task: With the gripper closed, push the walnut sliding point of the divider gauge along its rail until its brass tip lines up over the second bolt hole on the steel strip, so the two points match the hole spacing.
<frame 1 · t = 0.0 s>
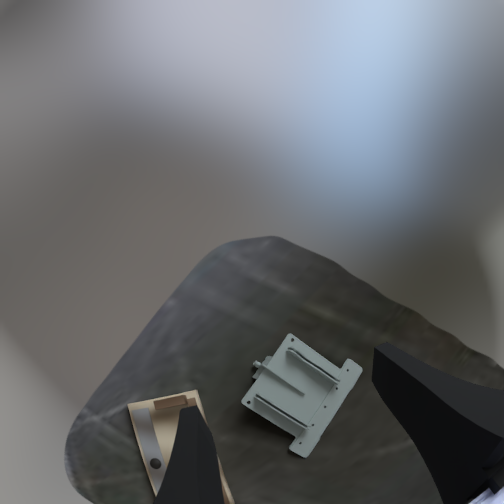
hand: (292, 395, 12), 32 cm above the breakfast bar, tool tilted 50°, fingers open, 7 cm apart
metal bracket: (297, 391, 42), on the breakfast bar
gauge board: (185, 470, 36), on the breakfast bar
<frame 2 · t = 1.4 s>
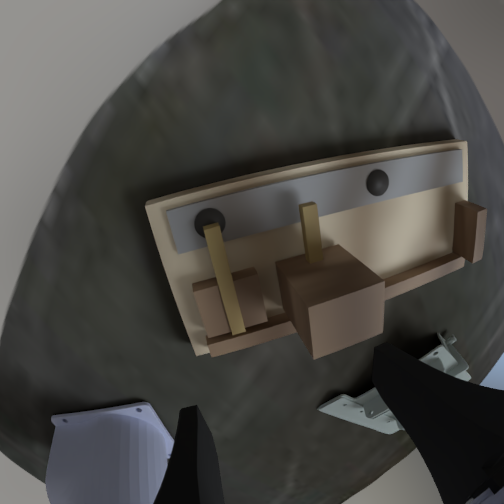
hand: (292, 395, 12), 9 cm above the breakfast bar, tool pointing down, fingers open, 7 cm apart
sliding point: (325, 270, 16), point 4 cm above the breakfast bar, slide at 0.0 cm
metal bracket: (398, 380, 30), on the breakfast bar
gauge board: (342, 233, 20), on the breakfast bar
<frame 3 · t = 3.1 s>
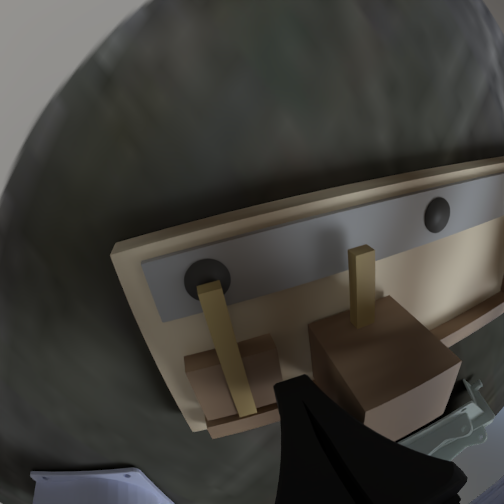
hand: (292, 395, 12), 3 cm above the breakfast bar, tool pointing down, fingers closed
sliding point: (381, 343, 11), point 4 cm above the breakfast bar, slide at 0.4 cm, touching gripper
metal bracket: (415, 428, 24), on the breakfast bar
gauge board: (384, 279, 15), on the breakfast bar
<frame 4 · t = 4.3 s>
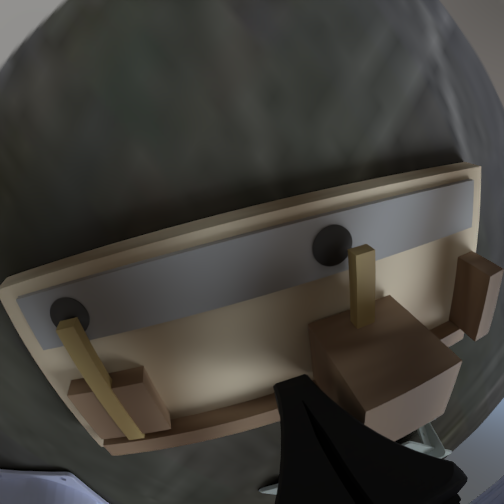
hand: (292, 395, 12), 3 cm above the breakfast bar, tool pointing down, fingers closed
sliding point: (381, 342, 11), point 4 cm above the breakfast bar, slide at 5.7 cm, touching gripper
metal bracket: (362, 455, 23), on the breakfast bar
gauge board: (281, 313, 14), on the breakfast bar
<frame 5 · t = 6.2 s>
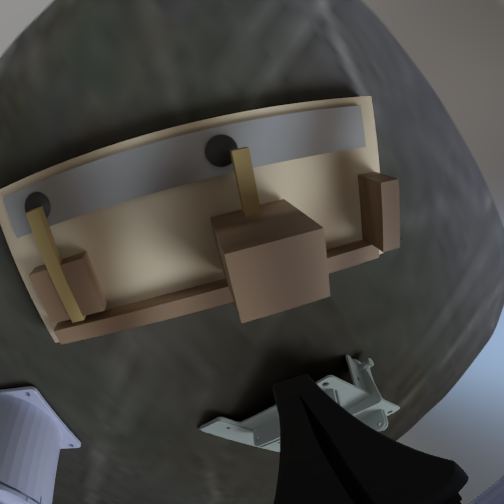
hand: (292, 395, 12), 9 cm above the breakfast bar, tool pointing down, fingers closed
sliding point: (259, 221, 15), point 4 cm above the breakfast bar, slide at 5.7 cm
metal bracket: (305, 405, 27), on the breakfast bar
gauge board: (195, 215, 18), on the breakfast bar
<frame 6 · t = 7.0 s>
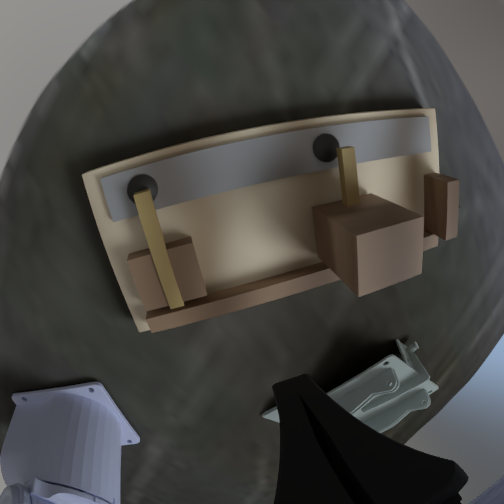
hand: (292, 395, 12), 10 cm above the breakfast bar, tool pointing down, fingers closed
sliding point: (365, 210, 16), point 4 cm above the breakfast bar, slide at 5.7 cm
metal bracket: (355, 388, 29), on the breakfast bar
gauge board: (292, 205, 19), on the breakfast bar
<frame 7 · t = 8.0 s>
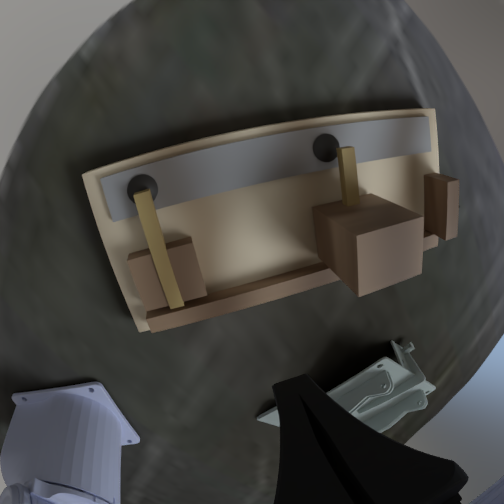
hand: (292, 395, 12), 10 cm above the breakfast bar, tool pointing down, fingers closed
sliding point: (365, 210, 16), point 4 cm above the breakfast bar, slide at 5.7 cm
metal bracket: (351, 389, 29), on the breakfast bar
gauge board: (292, 205, 19), on the breakfast bar
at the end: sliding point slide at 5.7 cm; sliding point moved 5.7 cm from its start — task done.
